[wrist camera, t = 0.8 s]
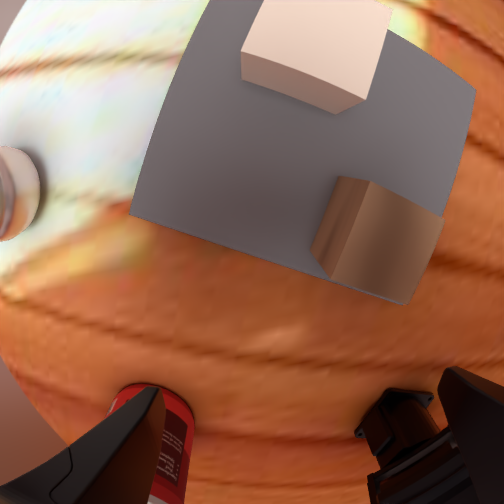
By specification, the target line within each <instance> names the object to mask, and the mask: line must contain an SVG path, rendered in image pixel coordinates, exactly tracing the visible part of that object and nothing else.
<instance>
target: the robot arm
mask: <svg viewBox="0 0 504 504" xmlns="http://www.w3.org/2000/svg"><path fill="white" fill-rule="evenodd" d="M437 391H438V395H439V398H440V401H441V404H442V407H443V409H444V412H445V415H446V418H447V421H448V424H449V425H448V426H447V427H446V428H445V429H443V430H442V431H440V429H439V428H438V426H437V425H436V423H435V421H434V420H433V418H432V417H431V415H430V414H429V412H428V410H427V409H426V408H427V407H428V405H429V404H430V403H431V401H432V400H433V399H434V395H433V394H432V393H426V392H417V391H408V390H400V389H393V388H391V389H388V390H386V391H385V393H384V394H383V396H382V397H381V398H380V400H379V401H378V402H377V404H376V405H375V407H374V408H373V409H372V411H371V412H370V413H369V414H368V416H367V417H366V418H365V420H364V421H363V422H362V423H361V425H360V426H359V427H358V428H357V430H356V431H355V432H354V434H355V437H357V438H366V439H367V442H368V444H369V447H370V449H371V452H372V455H373V456H376V458H377V461H378V463H379V466H380V470H379V471H377V472H375V473H371V474H369V475H367V479H368V483H367V485H368V491H369V497H370V503H371V504H504V387H503V386H501V385H498V384H496V383H494V382H492V381H489V380H487V379H485V378H482V377H480V376H478V375H476V374H473V373H471V372H469V371H466V370H464V369H462V368H460V367H457V366H452V367H448V368H446V369H445V370H444V372H443V375H442V377H441V380H440V382H439V385H438V389H437ZM165 416H166V406H165V402H164V397H163V393H162V390H161V388H160V387H156V386H146V387H145V388H144V389H142V390H141V391H140V392H139V393H137V394H136V395H135V396H133V397H132V398H131V399H130V400H128V401H127V402H126V403H125V404H123V405H122V406H121V407H119V408H118V409H117V410H116V411H114V412H113V413H112V414H110V415H109V416H108V417H107V418H105V419H104V420H103V421H101V422H100V423H99V424H97V425H96V426H95V427H93V428H92V429H91V430H89V431H88V432H87V433H85V434H84V435H83V436H81V437H80V438H79V439H77V440H76V441H75V442H73V443H72V444H71V445H70V446H69V447H70V448H69V447H67V448H65V449H64V450H62V451H61V452H60V453H58V454H57V455H55V456H54V457H52V458H51V459H50V460H48V461H47V462H45V463H43V464H41V465H40V466H38V467H36V468H35V469H33V470H31V471H29V472H27V473H25V474H24V475H21V476H20V477H18V478H16V479H14V480H12V481H10V482H8V483H6V484H4V485H1V486H0V504H147V503H148V499H149V495H150V492H151V488H152V484H153V480H154V476H155V473H156V469H157V465H158V461H159V457H160V452H161V444H162V437H163V430H164V423H165Z"/></svg>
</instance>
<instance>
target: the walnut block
mask: <svg viewBox="0 0 504 504" xmlns="http://www.w3.org/2000/svg"><path fill="white" fill-rule="evenodd" d="M445 221H446V220H445V219H443V218H441V217H439V216H437V215H436V214H434V213H432V212H430V211H428V210H427V209H425V208H423V207H421V206H419V205H417V204H415V203H414V202H412V201H410V200H408V199H406V198H404V197H402V196H400V195H398V194H396V193H394V192H392V191H390V190H388V189H386V188H384V187H382V186H380V185H378V184H376V183H374V182H372V181H368V180H362V179H356V178H350V177H344V176H338V179H337V182H336V184H335V187H334V190H333V192H332V195H331V198H330V200H329V203H328V205H327V208H326V210H325V213H324V216H323V218H322V221H321V223H320V226H319V228H318V231H317V233H316V236H315V238H314V241H313V243H312V246H311V248H310V252H311V253H312V254H313V256H314V257H315V259H316V260H317V261H318V263H319V264H320V265H321V267H322V268H323V270H324V271H325V272H326V274H327V275H328V277H329V278H330V279H331V280H334V281H337V282H340V283H343V284H346V285H349V286H352V287H355V288H358V289H361V290H364V291H367V292H370V293H373V294H376V295H379V296H382V297H385V298H388V299H391V300H394V301H397V302H400V303H403V304H406V305H408V304H409V302H410V300H411V298H412V296H413V294H414V292H415V290H416V288H417V286H418V284H419V282H420V280H421V278H422V276H423V273H424V271H425V269H426V267H427V265H428V262H429V260H430V258H431V255H432V253H433V251H434V248H435V246H436V243H437V241H438V239H439V236H440V234H441V231H442V228H443V226H444V223H445Z"/></svg>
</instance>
